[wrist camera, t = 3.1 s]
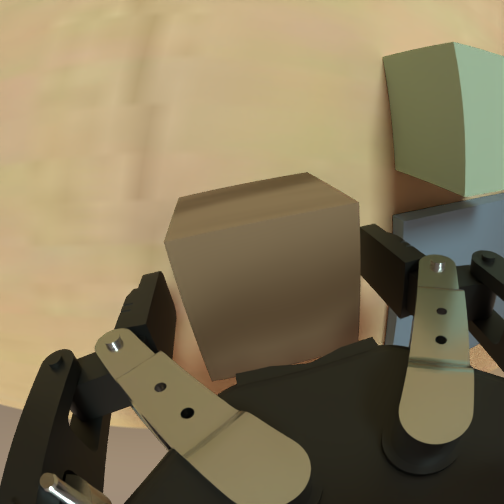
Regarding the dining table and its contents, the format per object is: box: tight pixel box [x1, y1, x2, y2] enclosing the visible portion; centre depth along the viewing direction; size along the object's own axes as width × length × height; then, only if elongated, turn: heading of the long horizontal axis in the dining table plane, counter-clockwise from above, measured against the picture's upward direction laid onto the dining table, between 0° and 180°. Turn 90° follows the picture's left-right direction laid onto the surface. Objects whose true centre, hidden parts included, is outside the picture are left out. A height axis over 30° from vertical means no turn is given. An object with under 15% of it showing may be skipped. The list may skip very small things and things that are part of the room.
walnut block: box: [164, 172, 360, 381], centre depth 12 cm, size 6×6×5 cm
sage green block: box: [383, 42, 504, 197], centre depth 10 cm, size 6×6×5 cm
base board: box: [385, 193, 504, 349], centre depth 17 cm, size 12×12×1 cm
